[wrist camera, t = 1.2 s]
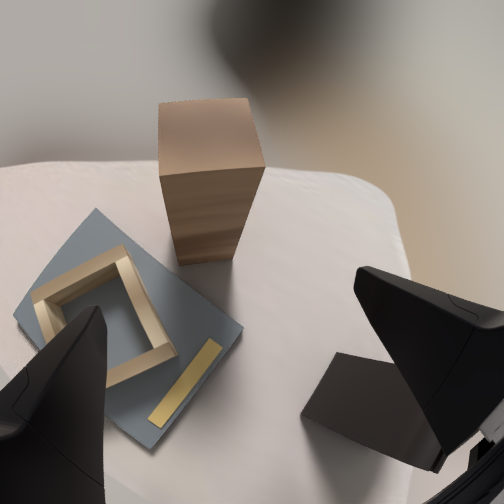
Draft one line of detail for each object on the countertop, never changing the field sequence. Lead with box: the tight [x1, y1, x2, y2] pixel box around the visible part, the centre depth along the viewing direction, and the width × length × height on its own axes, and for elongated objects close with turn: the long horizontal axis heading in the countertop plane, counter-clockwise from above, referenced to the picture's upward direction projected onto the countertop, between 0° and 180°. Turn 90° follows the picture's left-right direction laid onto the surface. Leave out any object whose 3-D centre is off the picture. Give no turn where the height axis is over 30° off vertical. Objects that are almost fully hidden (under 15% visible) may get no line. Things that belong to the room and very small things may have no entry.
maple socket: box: [30, 243, 179, 389], centre depth 18 cm, size 8×8×3 cm
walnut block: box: [158, 98, 266, 266], centre depth 18 cm, size 4×4×13 cm
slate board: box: [13, 208, 244, 449], centre depth 20 cm, size 16×12×1 cm
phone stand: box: [301, 352, 448, 474], centre depth 16 cm, size 9×6×12 cm, turn 57°
